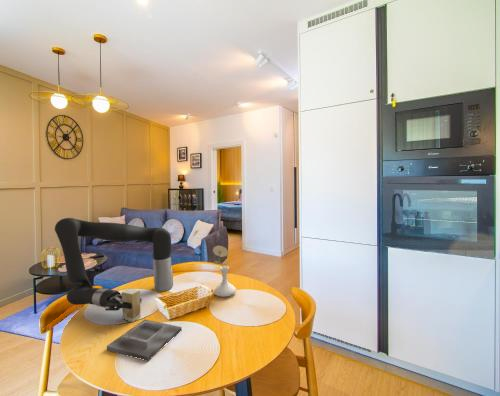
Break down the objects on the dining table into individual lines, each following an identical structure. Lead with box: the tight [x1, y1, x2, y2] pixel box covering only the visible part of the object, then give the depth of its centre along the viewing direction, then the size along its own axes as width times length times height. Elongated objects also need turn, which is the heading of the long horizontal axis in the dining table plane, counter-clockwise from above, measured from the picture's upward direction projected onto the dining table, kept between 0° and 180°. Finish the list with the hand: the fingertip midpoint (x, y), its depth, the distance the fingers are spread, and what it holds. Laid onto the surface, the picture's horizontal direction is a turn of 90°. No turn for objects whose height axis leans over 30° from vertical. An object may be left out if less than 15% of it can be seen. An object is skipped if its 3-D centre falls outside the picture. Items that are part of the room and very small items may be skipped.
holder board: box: [106, 319, 183, 362], centre depth 93 cm, size 18×18×4 cm
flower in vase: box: [212, 245, 237, 298], centre depth 130 cm, size 13×11×25 cm
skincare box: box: [121, 288, 141, 323], centre depth 108 cm, size 6×4×12 cm
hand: (136, 303), depth 107 cm, fingers closed on skincare box, 4 cm apart
